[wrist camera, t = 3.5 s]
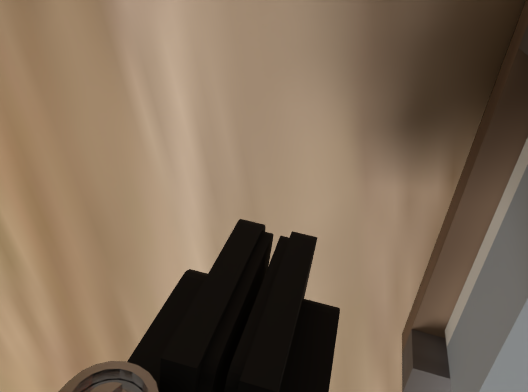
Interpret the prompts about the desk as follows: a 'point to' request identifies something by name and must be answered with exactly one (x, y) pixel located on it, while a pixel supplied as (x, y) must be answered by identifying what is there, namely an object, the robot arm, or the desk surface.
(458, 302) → the white sliding panel
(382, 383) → the desk surface
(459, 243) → the rail board
